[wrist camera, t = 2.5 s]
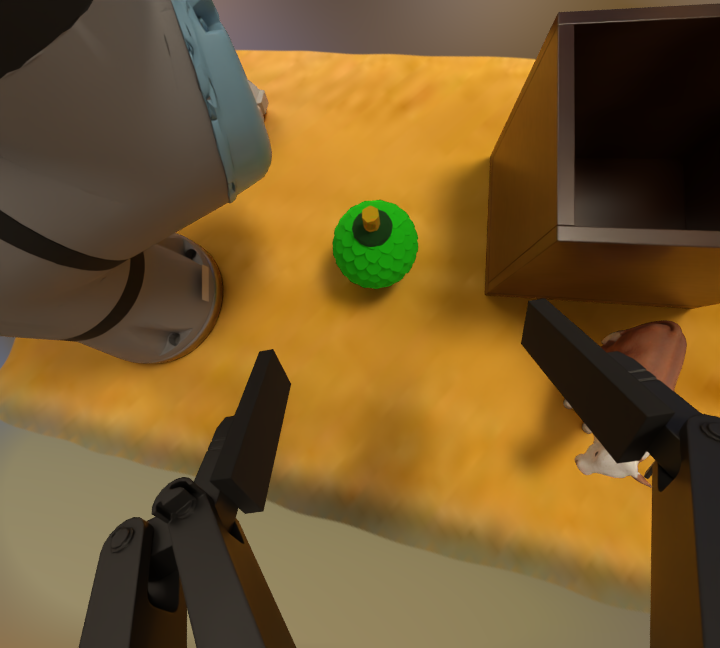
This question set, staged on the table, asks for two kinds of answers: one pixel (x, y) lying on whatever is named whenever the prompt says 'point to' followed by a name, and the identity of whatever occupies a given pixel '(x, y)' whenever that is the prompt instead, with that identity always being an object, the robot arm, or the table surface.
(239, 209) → the table surface
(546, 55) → the chest
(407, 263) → the ornament
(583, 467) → the bull figurine
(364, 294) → the table surface
